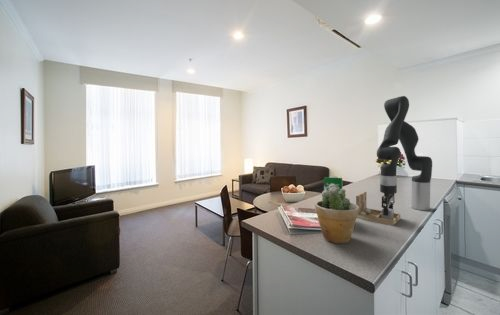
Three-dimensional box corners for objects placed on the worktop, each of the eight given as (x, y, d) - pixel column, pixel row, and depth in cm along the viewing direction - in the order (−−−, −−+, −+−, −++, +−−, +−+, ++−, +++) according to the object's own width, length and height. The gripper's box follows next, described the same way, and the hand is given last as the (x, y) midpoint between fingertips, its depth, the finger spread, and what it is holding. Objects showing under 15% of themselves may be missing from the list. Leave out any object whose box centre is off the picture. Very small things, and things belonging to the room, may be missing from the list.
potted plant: (310, 230, 107) (310, 181, 106) (348, 229, 107) (348, 180, 105) (322, 247, 89) (321, 188, 87) (367, 247, 88) (367, 187, 87)
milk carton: (342, 218, 122) (342, 175, 121) (342, 224, 114) (341, 177, 112) (325, 216, 126) (325, 174, 124) (324, 222, 118) (323, 177, 116)
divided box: (365, 212, 131) (365, 191, 130) (400, 219, 118) (400, 196, 117) (356, 218, 121) (356, 196, 121) (393, 226, 108) (393, 201, 107)
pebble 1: (360, 215, 124) (360, 210, 124) (366, 217, 121) (366, 211, 121) (358, 217, 122) (358, 211, 121) (364, 218, 119) (364, 213, 119)
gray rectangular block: (384, 218, 119) (384, 207, 119) (393, 219, 116) (393, 209, 116) (381, 220, 116) (381, 209, 116) (391, 222, 113) (391, 211, 112)
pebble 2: (366, 212, 129) (366, 207, 129) (372, 213, 127) (372, 208, 127) (364, 213, 127) (364, 208, 127) (370, 214, 125) (370, 209, 125)
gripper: (384, 181, 122) (384, 208, 123) (376, 185, 113) (376, 215, 114) (400, 182, 117) (399, 211, 118) (392, 186, 107) (392, 218, 108)
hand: (388, 213), depth 116 cm, fingers open, 8 cm apart
